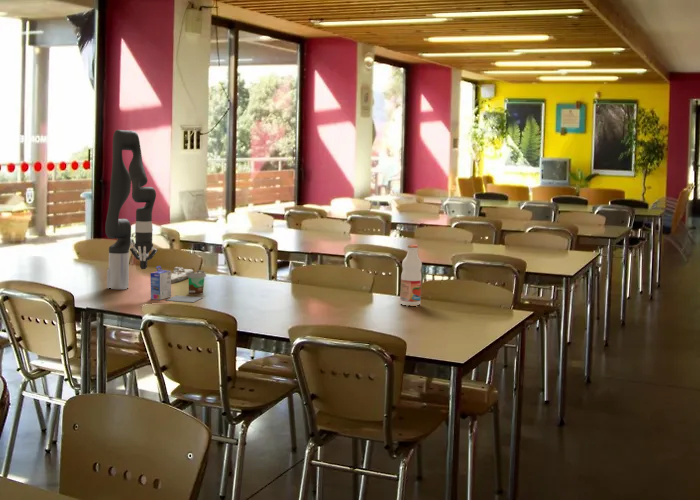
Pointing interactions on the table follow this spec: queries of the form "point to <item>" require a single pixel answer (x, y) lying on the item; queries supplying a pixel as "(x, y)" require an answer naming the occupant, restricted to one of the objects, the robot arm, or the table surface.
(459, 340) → the table surface
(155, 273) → the ink cartridge box
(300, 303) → the table surface
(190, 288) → the food container
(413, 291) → the fruit juice
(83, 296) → the table surface
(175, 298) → the mat
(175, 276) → the long grey stone
